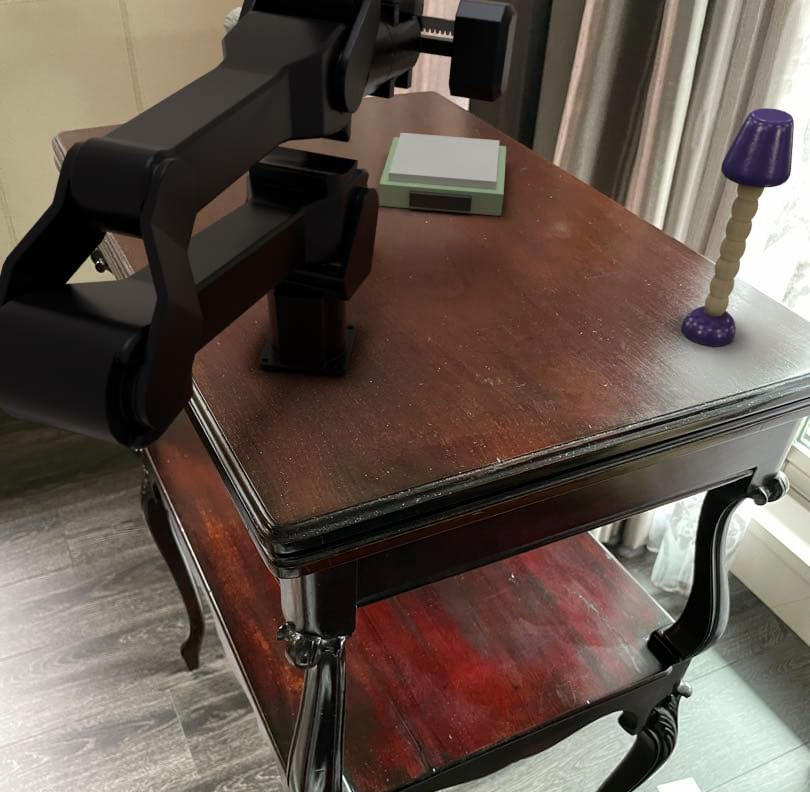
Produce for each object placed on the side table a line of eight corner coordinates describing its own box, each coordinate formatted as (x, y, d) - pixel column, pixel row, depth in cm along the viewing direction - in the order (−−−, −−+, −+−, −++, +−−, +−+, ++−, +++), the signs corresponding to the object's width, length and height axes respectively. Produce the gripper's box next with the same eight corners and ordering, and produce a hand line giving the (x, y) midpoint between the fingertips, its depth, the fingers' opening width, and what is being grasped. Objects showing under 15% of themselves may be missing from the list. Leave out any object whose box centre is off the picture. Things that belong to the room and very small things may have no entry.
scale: (500, 218, 81) (504, 187, 79) (378, 208, 82) (378, 177, 80) (503, 167, 90) (507, 138, 88) (393, 158, 91) (393, 128, 88)
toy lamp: (690, 350, 66) (763, 129, 54) (663, 319, 69) (725, 104, 57) (744, 343, 67) (826, 124, 55) (714, 313, 70) (786, 100, 58)
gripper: (503, -80, 51) (550, -83, 63) (226, -111, 55) (319, -109, 66) (478, 120, 58) (525, 83, 70) (234, 80, 62) (317, 52, 73)
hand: (421, 25), depth 70 cm, fingers open, 9 cm apart
